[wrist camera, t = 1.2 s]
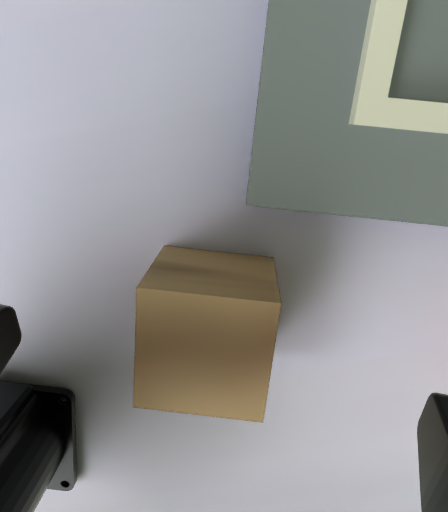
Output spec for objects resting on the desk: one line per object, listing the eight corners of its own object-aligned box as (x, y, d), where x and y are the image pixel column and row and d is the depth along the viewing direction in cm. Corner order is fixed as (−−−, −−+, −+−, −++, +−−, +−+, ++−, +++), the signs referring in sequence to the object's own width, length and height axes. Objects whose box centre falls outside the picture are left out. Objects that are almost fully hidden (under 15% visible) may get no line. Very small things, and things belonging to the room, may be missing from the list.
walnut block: (259, 351, 20) (262, 422, 16) (159, 340, 21) (133, 407, 16) (273, 257, 19) (281, 303, 14) (164, 245, 19) (136, 287, 14)
